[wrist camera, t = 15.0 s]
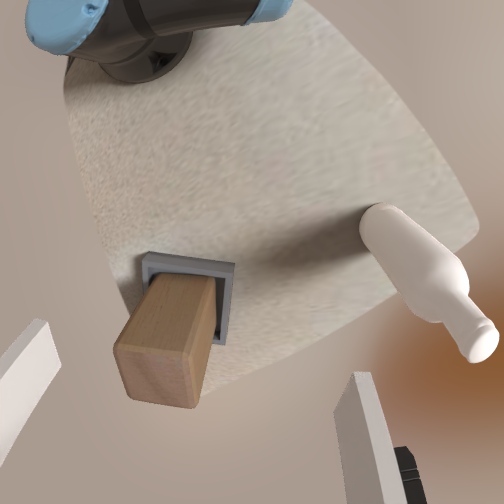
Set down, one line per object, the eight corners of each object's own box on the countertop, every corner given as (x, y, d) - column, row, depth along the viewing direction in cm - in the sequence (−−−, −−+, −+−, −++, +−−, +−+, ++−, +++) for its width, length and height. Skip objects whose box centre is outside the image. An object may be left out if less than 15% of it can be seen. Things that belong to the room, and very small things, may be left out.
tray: (149, 251, 50) (141, 260, 47) (234, 263, 50) (232, 273, 47) (151, 320, 56) (146, 332, 53) (227, 333, 56) (225, 345, 53)
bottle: (351, 213, 46) (444, 337, 19) (395, 194, 44) (521, 292, 17) (366, 256, 49) (446, 395, 21) (407, 238, 47) (513, 356, 20)
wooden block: (163, 318, 55) (126, 401, 36) (157, 269, 50) (108, 347, 32) (217, 323, 54) (197, 412, 36) (216, 273, 50) (190, 358, 32)
